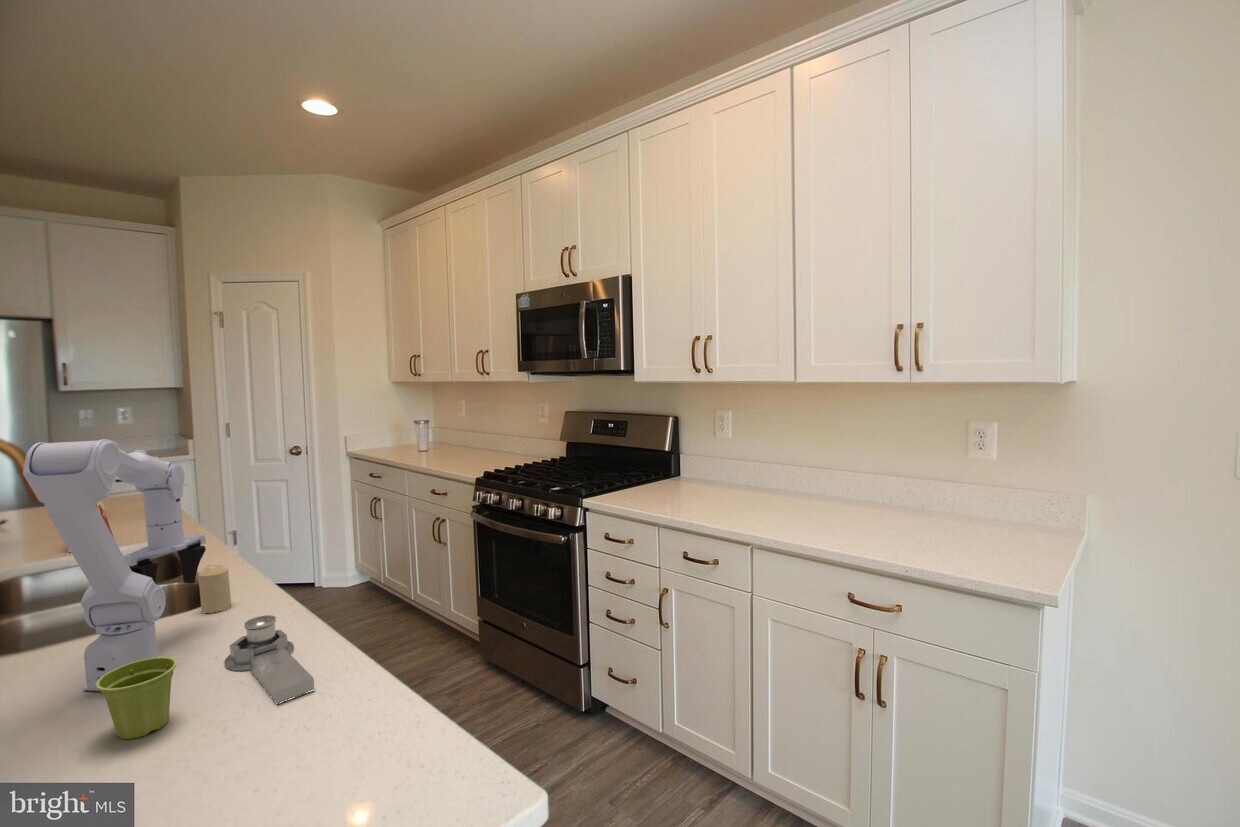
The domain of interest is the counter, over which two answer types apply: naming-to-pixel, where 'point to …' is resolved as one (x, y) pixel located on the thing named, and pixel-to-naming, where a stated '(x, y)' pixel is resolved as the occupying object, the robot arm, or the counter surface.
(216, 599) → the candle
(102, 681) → the plant pot
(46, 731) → the counter surface
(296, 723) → the counter surface
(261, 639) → the metal knob
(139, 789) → the counter surface
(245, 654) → the grey piece
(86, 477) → the robot arm
